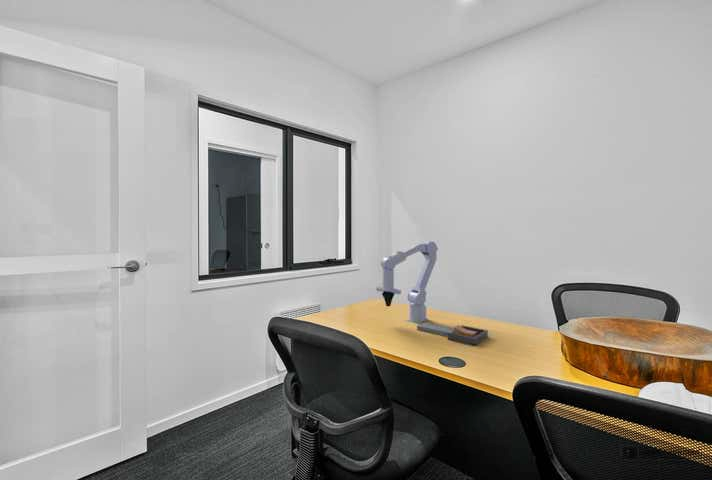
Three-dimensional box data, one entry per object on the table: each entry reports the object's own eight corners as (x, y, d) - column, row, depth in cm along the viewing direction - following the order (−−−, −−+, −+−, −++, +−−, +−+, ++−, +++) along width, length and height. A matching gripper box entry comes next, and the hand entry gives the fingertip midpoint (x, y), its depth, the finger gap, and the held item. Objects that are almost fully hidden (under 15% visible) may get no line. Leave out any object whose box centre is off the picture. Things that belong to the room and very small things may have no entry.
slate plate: (425, 326, 169) (425, 322, 169) (458, 333, 157) (458, 329, 157) (417, 329, 163) (417, 325, 163) (451, 337, 151) (451, 333, 151)
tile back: (456, 329, 156) (458, 325, 155) (465, 334, 153) (467, 329, 152) (452, 332, 152) (454, 327, 152) (461, 336, 149) (463, 332, 149)
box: (461, 331, 159) (461, 325, 159) (487, 336, 151) (487, 330, 151) (447, 339, 148) (447, 332, 148) (475, 345, 140) (475, 338, 140)
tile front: (467, 335, 152) (467, 329, 152) (476, 337, 149) (476, 331, 149) (463, 337, 149) (463, 332, 149) (472, 339, 146) (472, 334, 146)
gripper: (372, 280, 175) (372, 305, 175) (395, 282, 165) (395, 309, 165) (380, 278, 180) (380, 303, 180) (403, 281, 170) (403, 307, 171)
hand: (388, 306), depth 173 cm, fingers closed
